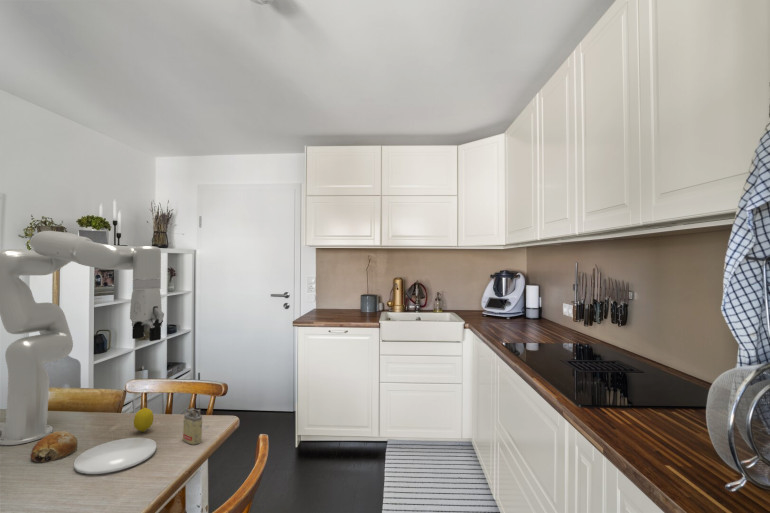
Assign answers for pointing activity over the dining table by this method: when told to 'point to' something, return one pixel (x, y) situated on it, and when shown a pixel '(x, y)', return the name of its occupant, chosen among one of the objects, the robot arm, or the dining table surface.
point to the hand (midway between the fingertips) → (146, 339)
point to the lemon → (143, 419)
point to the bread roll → (54, 447)
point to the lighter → (192, 427)
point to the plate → (114, 455)
